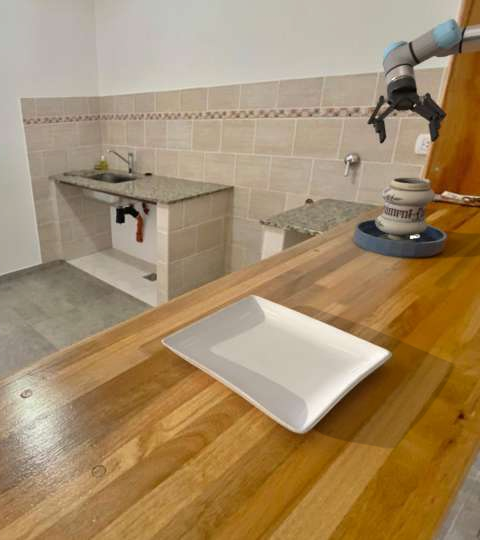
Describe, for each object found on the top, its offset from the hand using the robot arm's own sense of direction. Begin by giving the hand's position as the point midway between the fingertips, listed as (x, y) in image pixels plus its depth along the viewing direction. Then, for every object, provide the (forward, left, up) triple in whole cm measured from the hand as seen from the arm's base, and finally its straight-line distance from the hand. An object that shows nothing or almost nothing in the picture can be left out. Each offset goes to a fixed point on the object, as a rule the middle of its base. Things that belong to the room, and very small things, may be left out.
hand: (408, 139), depth 115 cm
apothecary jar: (-2, +19, -26) cm, 33 cm away
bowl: (-2, +19, -27) cm, 33 cm away
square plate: (+14, +91, -27) cm, 96 cm away
